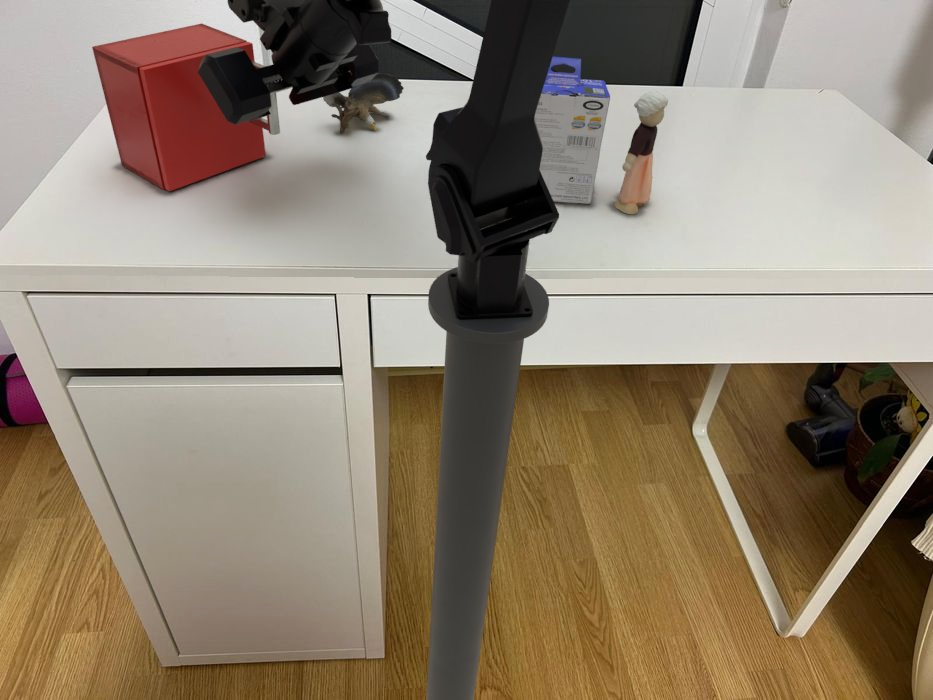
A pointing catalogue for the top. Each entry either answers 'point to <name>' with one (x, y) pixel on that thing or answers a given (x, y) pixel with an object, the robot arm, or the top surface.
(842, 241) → the top surface
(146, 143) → the cabinet
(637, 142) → the grandmother figurine
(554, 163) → the ink cartridge box
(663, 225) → the top surface
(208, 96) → the door
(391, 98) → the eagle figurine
